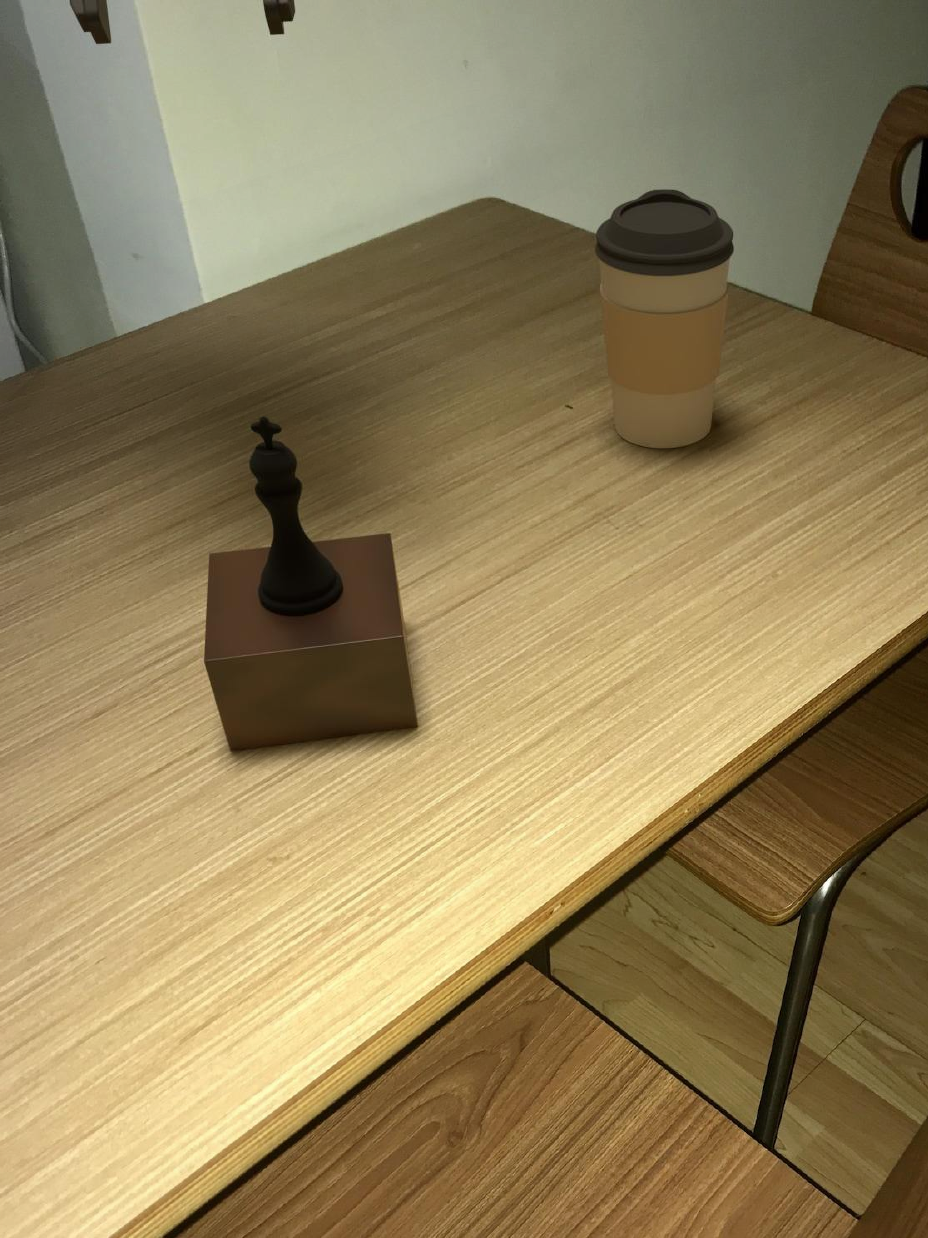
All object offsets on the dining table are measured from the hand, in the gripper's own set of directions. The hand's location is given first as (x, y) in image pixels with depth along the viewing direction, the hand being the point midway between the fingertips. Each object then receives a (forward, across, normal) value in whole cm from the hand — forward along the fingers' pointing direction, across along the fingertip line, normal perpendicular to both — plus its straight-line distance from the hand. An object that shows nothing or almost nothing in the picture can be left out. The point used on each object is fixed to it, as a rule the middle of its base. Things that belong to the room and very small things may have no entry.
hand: (188, 30), depth 66 cm
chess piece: (+27, +2, +5) cm, 28 cm away
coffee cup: (+14, +26, +27) cm, 40 cm away
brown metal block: (+32, +2, +9) cm, 33 cm away
